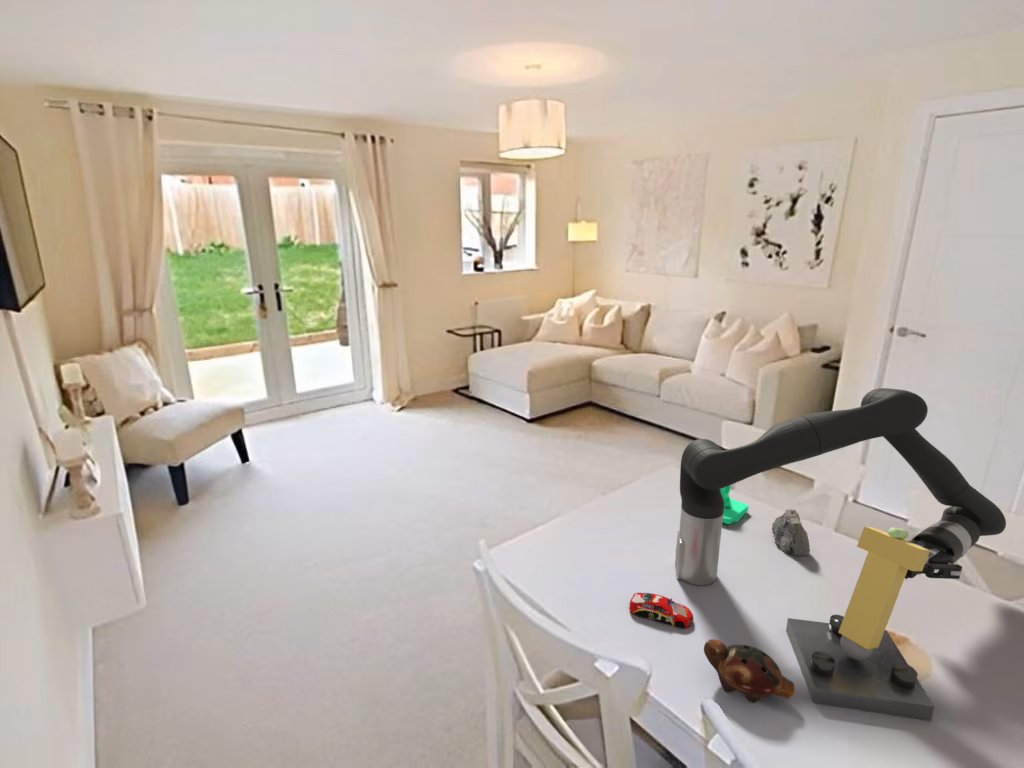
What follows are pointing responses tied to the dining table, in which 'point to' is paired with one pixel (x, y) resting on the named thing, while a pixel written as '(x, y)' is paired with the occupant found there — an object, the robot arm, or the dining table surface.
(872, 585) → the yellow t-shaped post
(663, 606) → the race car
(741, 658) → the decorative turtle
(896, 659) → the dark grey base plate
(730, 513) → the camera mount
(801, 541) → the mineral rock
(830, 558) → the dining table surface
